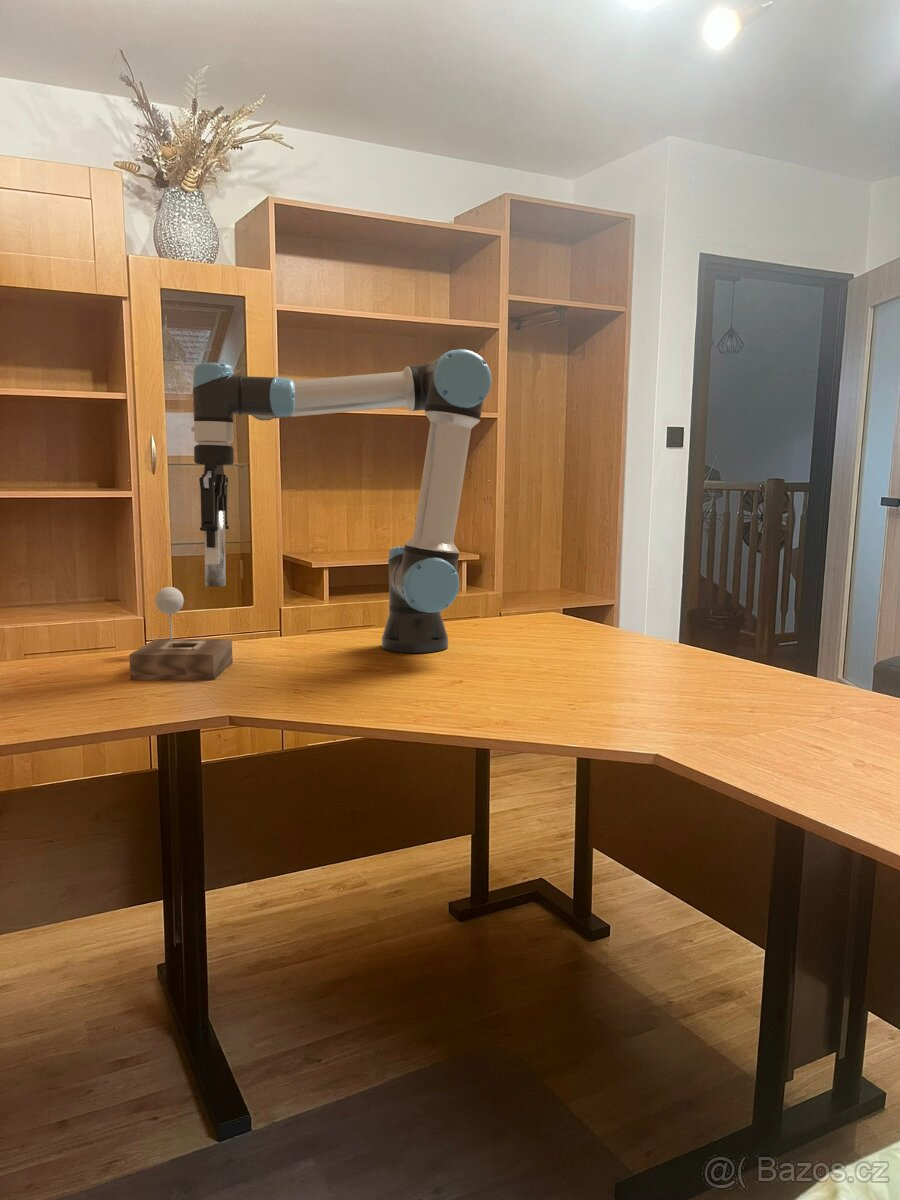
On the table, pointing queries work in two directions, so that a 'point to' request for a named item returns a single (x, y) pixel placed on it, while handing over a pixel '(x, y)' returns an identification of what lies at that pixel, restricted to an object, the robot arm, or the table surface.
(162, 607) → the lollipop
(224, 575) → the pin
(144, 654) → the bore block
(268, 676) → the table surface
